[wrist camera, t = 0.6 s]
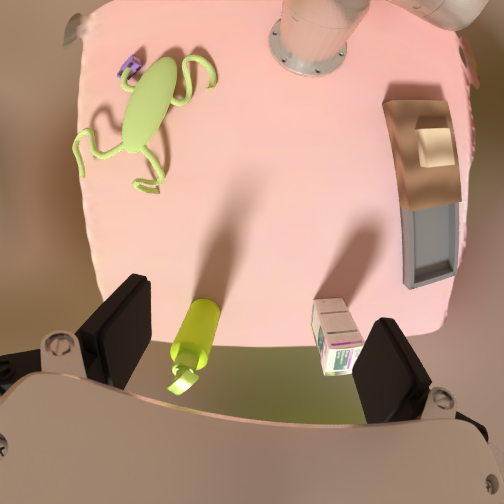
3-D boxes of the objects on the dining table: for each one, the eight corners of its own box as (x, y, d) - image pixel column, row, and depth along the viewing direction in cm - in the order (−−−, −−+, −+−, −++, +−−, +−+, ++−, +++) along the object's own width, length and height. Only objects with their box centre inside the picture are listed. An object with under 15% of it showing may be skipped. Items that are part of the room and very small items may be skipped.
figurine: (79, 166, 42) (61, 169, 37) (141, 39, 33) (128, 29, 28) (153, 208, 44) (140, 215, 39) (228, 69, 36) (223, 57, 30)
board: (382, 104, 36) (392, 100, 32) (435, 103, 34) (447, 100, 31) (399, 206, 41) (410, 211, 38) (449, 197, 40) (461, 201, 36)
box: (399, 206, 41) (407, 210, 39) (449, 197, 40) (458, 200, 37) (402, 282, 46) (409, 289, 43) (449, 269, 45) (456, 274, 42)
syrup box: (312, 298, 48) (327, 349, 34) (343, 296, 48) (366, 345, 34) (310, 324, 50) (322, 377, 36) (340, 322, 50) (359, 373, 36)
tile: (414, 129, 33) (421, 128, 31) (441, 128, 32) (449, 128, 30) (420, 166, 35) (428, 167, 33) (446, 163, 34) (454, 164, 32)
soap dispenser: (230, 307, 49) (211, 387, 31) (208, 329, 51) (184, 407, 33) (204, 288, 48) (173, 363, 29) (184, 311, 50) (148, 385, 31)
